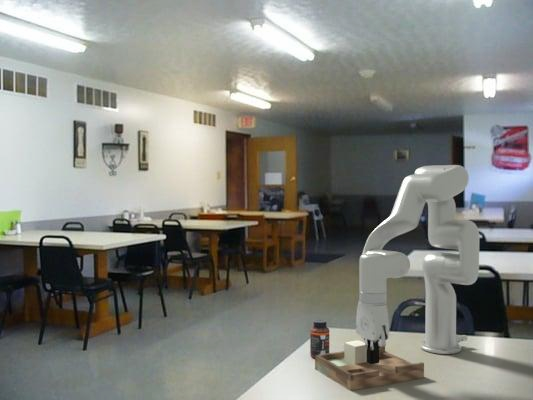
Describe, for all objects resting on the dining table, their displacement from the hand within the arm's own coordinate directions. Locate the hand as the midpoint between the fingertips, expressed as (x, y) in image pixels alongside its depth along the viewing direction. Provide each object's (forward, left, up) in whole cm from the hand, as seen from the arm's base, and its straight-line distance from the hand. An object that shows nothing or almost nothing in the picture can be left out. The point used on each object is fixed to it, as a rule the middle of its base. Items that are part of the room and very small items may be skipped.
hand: (372, 362), depth 157 cm
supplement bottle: (+5, -21, -4) cm, 22 cm away
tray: (0, -2, -4) cm, 4 cm away
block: (+1, -7, -1) cm, 7 cm away
